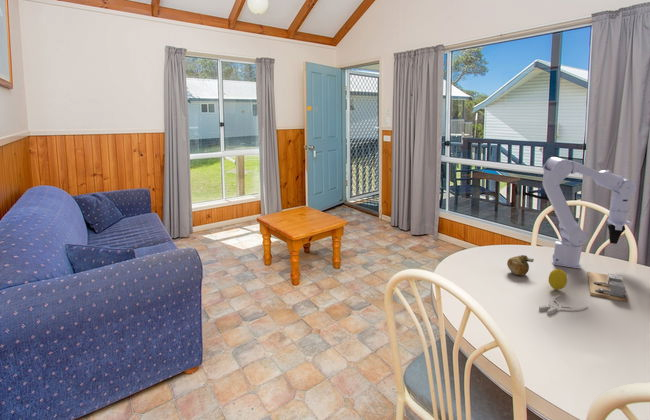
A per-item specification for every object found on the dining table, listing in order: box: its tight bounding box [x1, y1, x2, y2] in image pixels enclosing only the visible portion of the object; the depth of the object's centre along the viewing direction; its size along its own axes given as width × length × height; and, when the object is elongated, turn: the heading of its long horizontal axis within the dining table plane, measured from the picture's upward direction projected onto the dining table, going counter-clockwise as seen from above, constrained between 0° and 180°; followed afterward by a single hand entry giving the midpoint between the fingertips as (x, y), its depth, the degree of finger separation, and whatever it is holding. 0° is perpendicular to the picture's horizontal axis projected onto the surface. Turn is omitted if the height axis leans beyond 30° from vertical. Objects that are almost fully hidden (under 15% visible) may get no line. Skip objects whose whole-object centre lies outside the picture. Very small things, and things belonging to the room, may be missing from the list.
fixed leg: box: [598, 281, 626, 297], centre depth 132 cm, size 7×4×4 cm, turn 60°
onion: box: [506, 254, 535, 276], centre depth 151 cm, size 8×8×8 cm
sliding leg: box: [597, 273, 624, 287], centre depth 138 cm, size 7×4×4 cm, turn 60°
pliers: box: [538, 294, 589, 316], centre depth 126 cm, size 10×2×15 cm
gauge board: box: [586, 271, 628, 303], centre depth 140 cm, size 10×20×2 cm, turn 150°
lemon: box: [548, 268, 568, 291], centre depth 137 cm, size 6×6×8 cm
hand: (613, 243), depth 156 cm, fingers closed
